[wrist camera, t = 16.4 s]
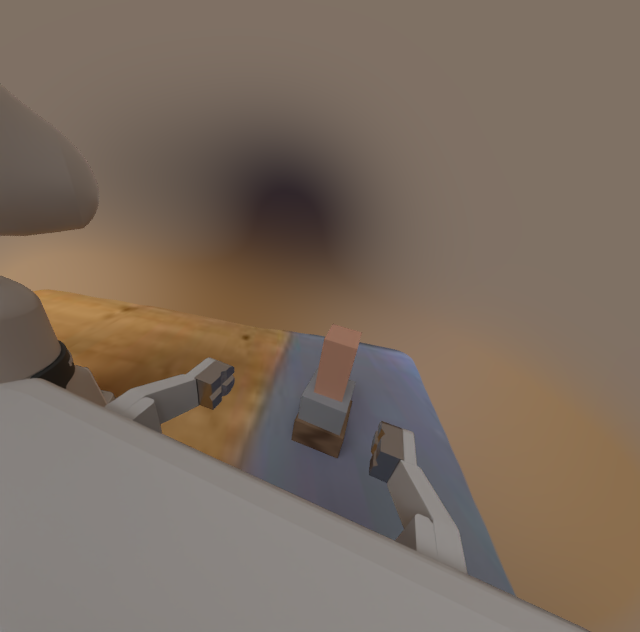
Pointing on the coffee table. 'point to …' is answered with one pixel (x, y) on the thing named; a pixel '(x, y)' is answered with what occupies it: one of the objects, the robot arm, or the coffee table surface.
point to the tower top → (324, 407)
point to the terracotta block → (336, 361)
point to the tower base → (319, 436)
